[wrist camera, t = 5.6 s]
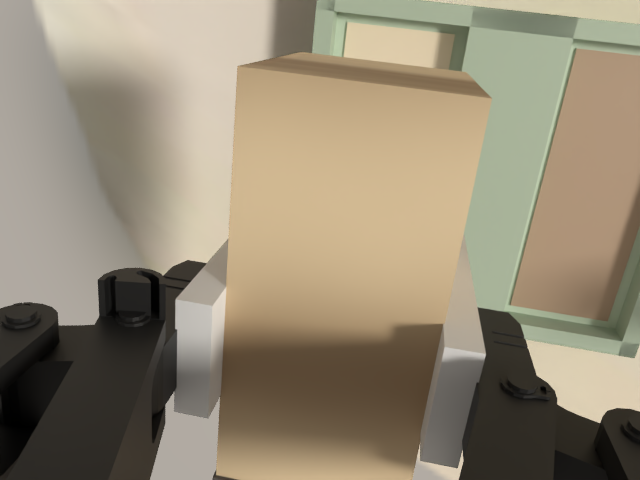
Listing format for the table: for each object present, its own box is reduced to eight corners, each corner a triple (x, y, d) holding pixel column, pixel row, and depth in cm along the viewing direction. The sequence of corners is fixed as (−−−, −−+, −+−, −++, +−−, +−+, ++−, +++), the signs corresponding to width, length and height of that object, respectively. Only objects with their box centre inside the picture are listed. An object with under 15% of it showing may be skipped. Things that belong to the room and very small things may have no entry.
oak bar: (299, 51, 16) (232, 66, 10) (467, 72, 15) (495, 99, 10) (267, 409, 20) (208, 557, 15) (398, 434, 20) (389, 598, 14)
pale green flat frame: (325, -10, 27) (317, -11, 25) (725, 34, 25) (752, 36, 23) (297, 280, 33) (288, 298, 30) (620, 335, 30) (634, 358, 28)
